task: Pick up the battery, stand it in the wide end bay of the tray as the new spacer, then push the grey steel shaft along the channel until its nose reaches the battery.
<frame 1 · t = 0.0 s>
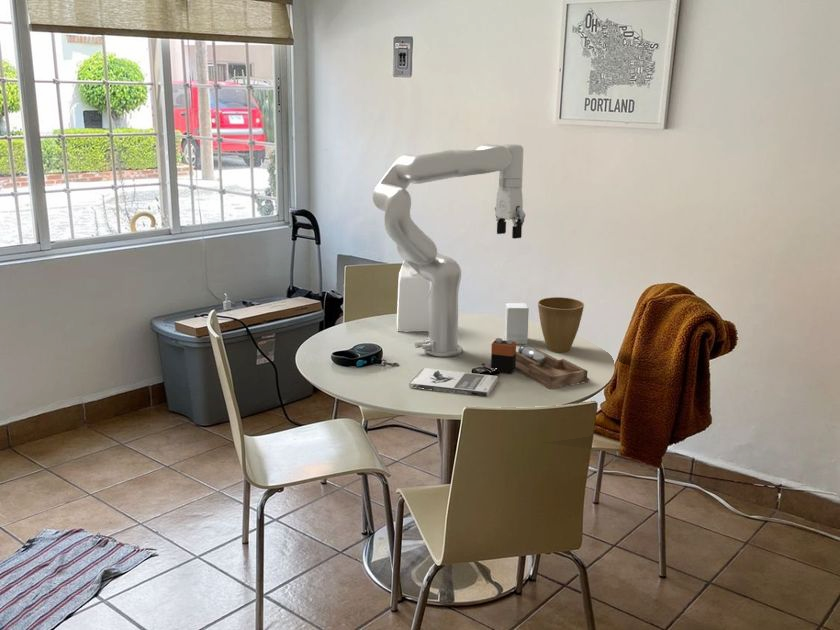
hand: (508, 235, 258), 37 cm above the table, tool pointing down, fingers open, 9 cm apart
battery: (503, 371, 240), on the table
book: (453, 386, 228), on the table
plant pot: (558, 349, 261), on the table
shaft: (532, 355, 244), point 3 cm above the table, slide at 0.0 cm
milk: (413, 327, 286), on the table
supplement box: (515, 341, 270), on the table
tray: (540, 369, 240), on the table
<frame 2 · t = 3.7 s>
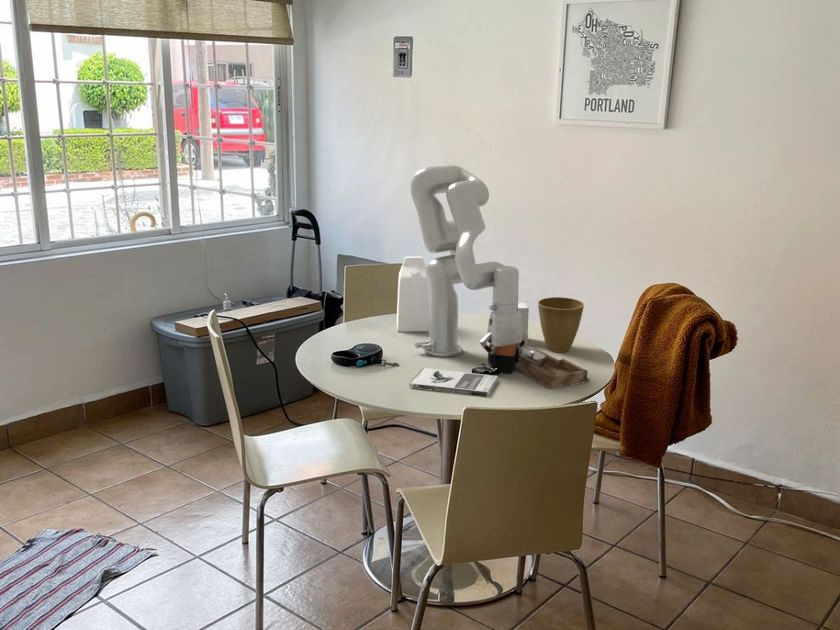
hand: (503, 363, 239), 2 cm above the table, tool pointing down, fingers closed on battery, 7 cm apart
battery: (503, 371, 240), on the table, touching gripper
everything else where it was.
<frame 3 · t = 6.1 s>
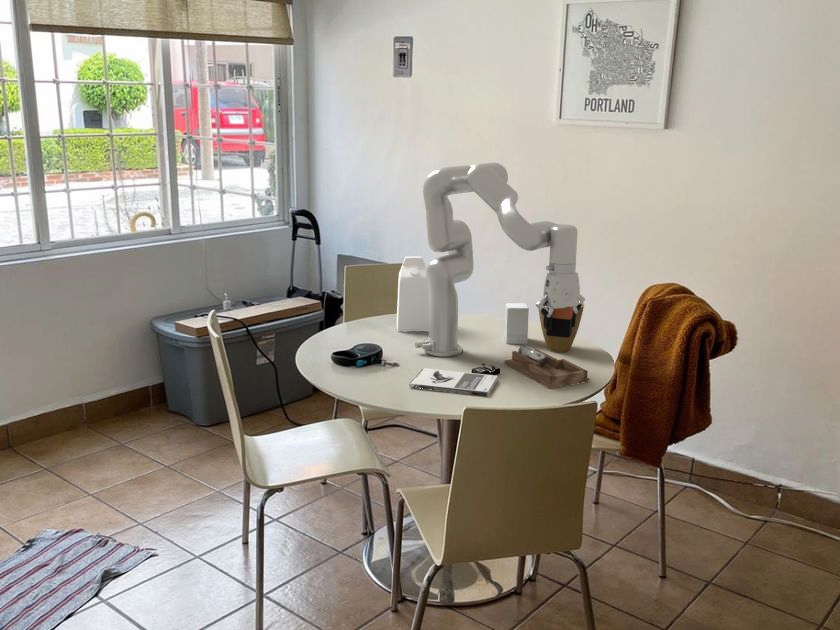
hand: (559, 327, 228), 16 cm above the table, tool pointing down, fingers closed on battery, 7 cm apart
battery: (558, 335, 229), point 13 cm above the table, touching gripper
everything else where it was.
when the fingers open (4 cm above the table, at t = 8.8 s): battery drops 1 cm, resting on tray.
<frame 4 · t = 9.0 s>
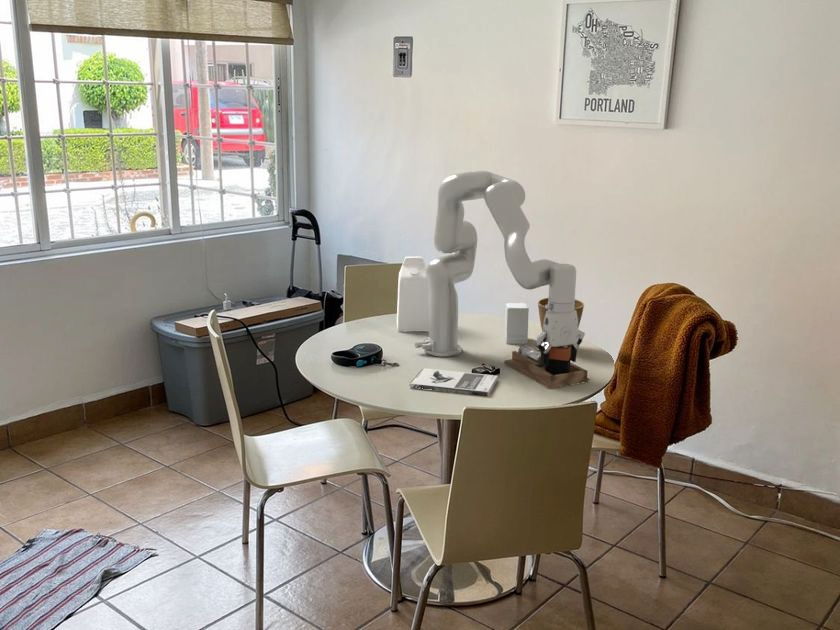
hand: (558, 362, 231), 5 cm above the table, tool pointing down, fingers open, 9 cm apart
battery: (557, 376, 233), point 1 cm above the table, touching tray
everything else where it was.
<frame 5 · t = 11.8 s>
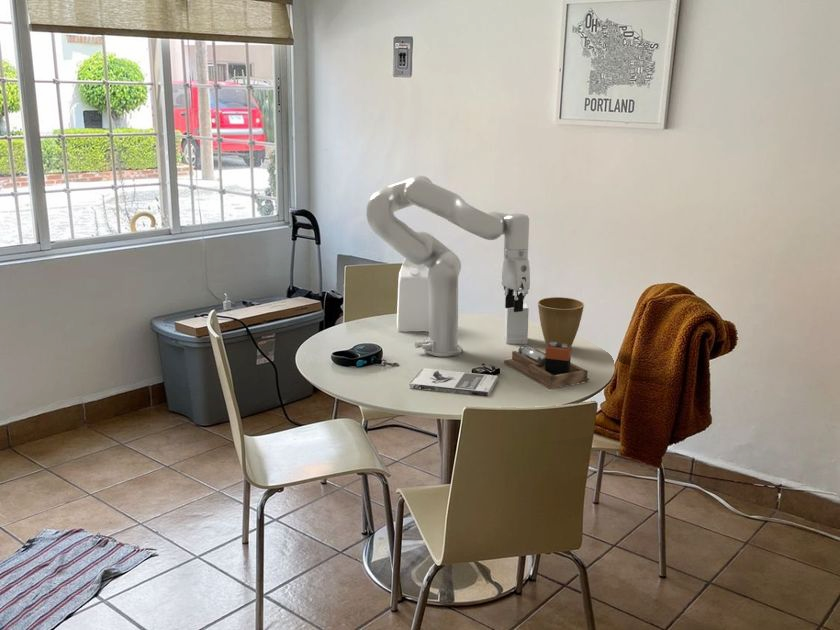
hand: (514, 309, 251), 15 cm above the table, tool pointing down, fingers open, 4 cm apart
nothing on the table moved.
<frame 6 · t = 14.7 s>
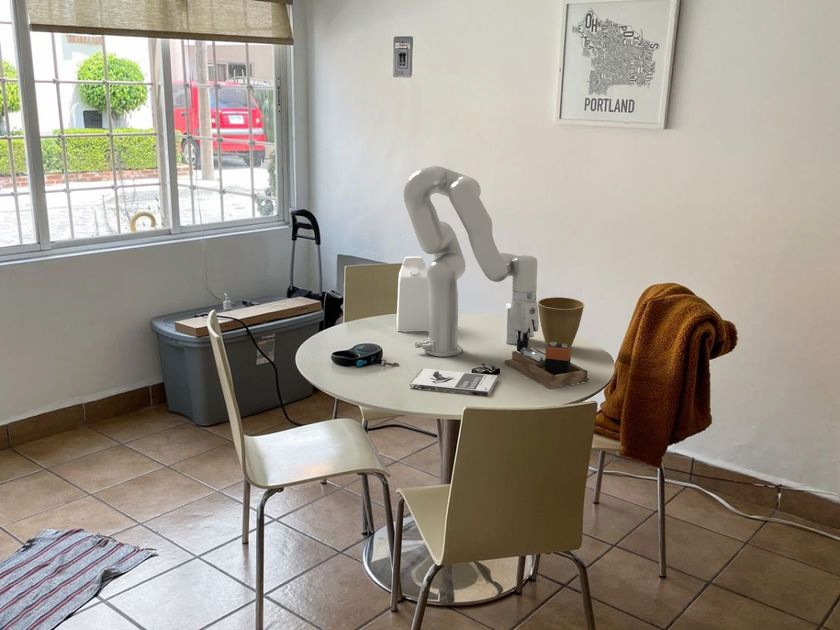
hand: (522, 351, 249), 3 cm above the table, tool pointing down, fingers closed
shaft: (534, 356, 243), point 3 cm above the table, slide at 1.1 cm, touching gripper
everything else where it was.
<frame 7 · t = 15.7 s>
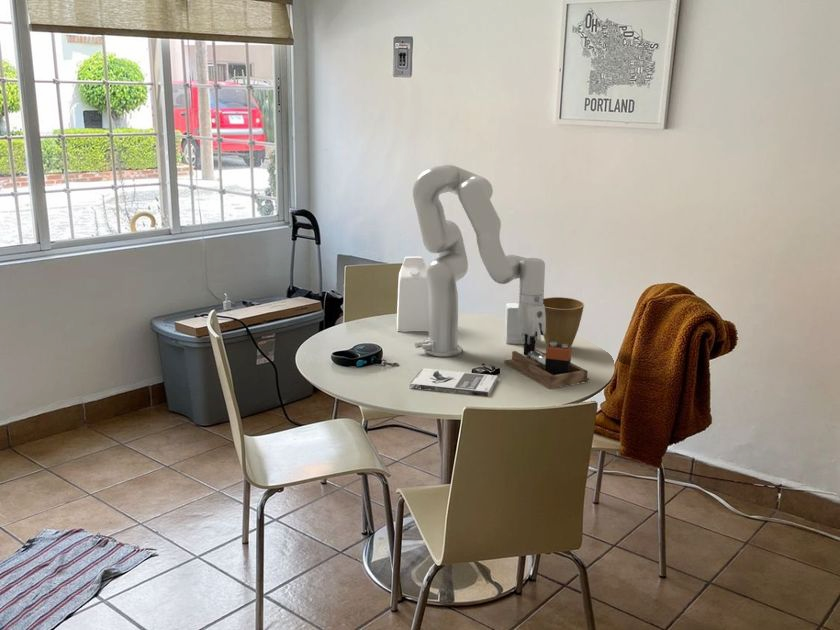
hand: (529, 354, 246), 3 cm above the table, tool pointing down, fingers closed
battery: (557, 376, 232), point 1 cm above the table, touching tray, shaft
shaft: (541, 360, 239), point 3 cm above the table, slide at 5.2 cm, touching battery, gripper
everything else where it was.
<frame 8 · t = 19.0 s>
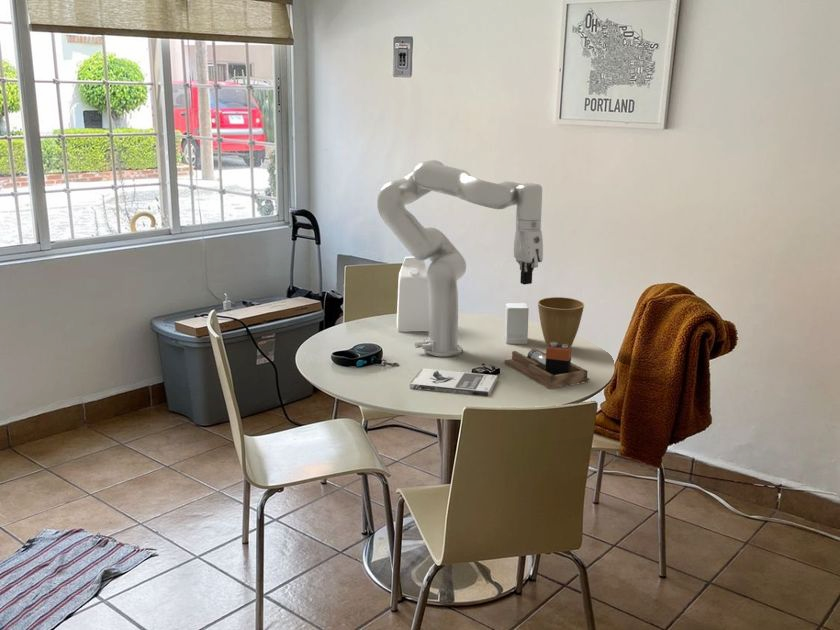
hand: (526, 283, 243), 25 cm above the table, tool pointing down, fingers closed
battery: (557, 376, 232), point 1 cm above the table, touching tray
shaft: (541, 360, 239), point 3 cm above the table, slide at 5.3 cm
everything else where it was.
at the end: shaft slide at 5.3 cm; battery inside the target area on the tray (0.1 cm from its centre), point 0.8 cm above the tray's base; battery tilted 0° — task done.
